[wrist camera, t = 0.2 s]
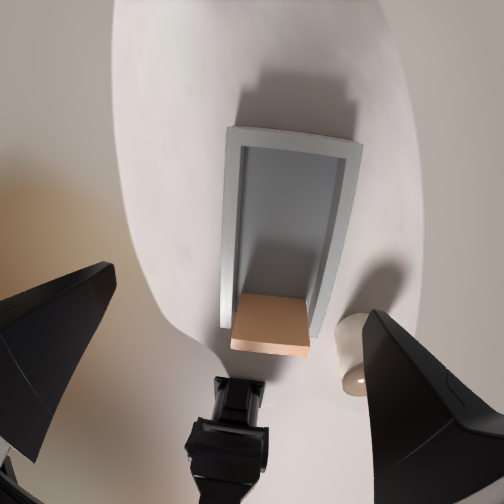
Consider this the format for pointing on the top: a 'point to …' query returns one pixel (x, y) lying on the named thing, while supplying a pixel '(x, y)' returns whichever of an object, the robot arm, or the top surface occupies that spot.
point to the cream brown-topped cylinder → (351, 353)
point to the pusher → (271, 325)
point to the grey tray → (285, 216)
